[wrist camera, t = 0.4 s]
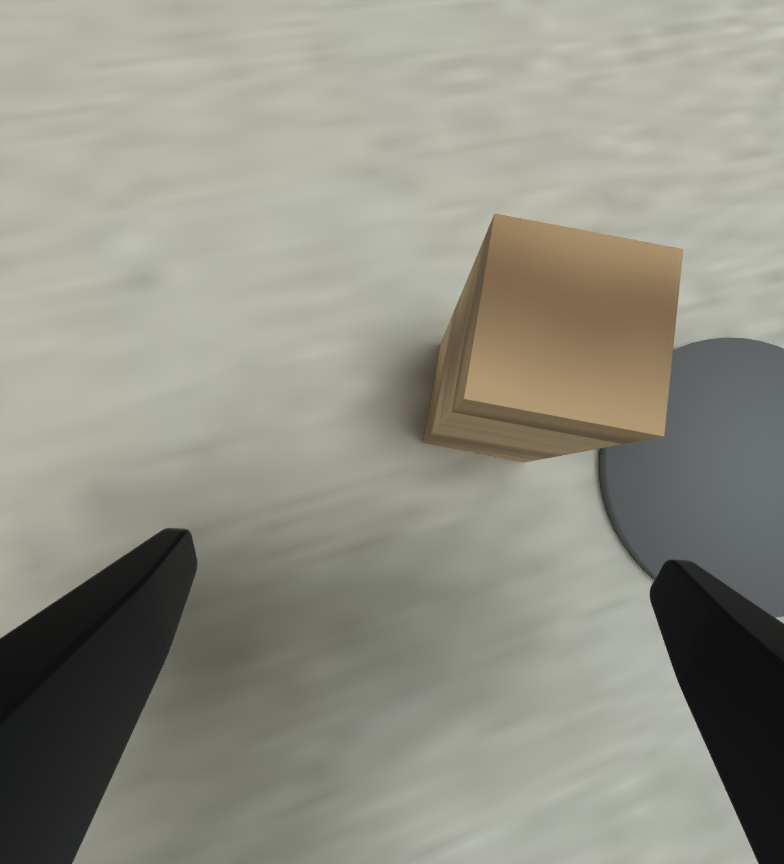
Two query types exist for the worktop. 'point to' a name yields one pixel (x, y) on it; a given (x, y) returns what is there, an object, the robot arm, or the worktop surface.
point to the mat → (710, 471)
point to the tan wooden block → (556, 344)
